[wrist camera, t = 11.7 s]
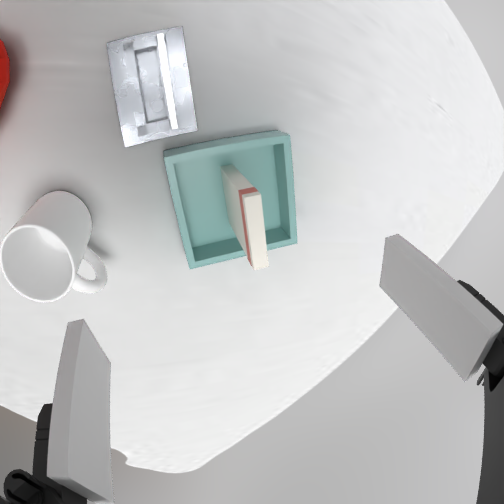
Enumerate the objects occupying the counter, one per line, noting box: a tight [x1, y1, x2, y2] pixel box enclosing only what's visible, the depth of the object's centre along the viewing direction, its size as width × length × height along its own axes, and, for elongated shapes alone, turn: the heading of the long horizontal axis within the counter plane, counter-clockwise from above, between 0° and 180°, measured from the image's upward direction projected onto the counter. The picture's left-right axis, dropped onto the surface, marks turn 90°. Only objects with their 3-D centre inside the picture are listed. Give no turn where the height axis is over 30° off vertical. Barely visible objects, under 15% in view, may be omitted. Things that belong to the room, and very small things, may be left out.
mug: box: [0, 191, 107, 302], centre depth 29 cm, size 12×8×10 cm
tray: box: [164, 130, 297, 269], centre depth 35 cm, size 13×13×4 cm
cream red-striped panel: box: [220, 164, 269, 270], centre depth 32 cm, size 7×1×11 cm, turn 7°
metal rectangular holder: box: [107, 26, 198, 147], centre depth 27 cm, size 12×8×3 cm, turn 7°
